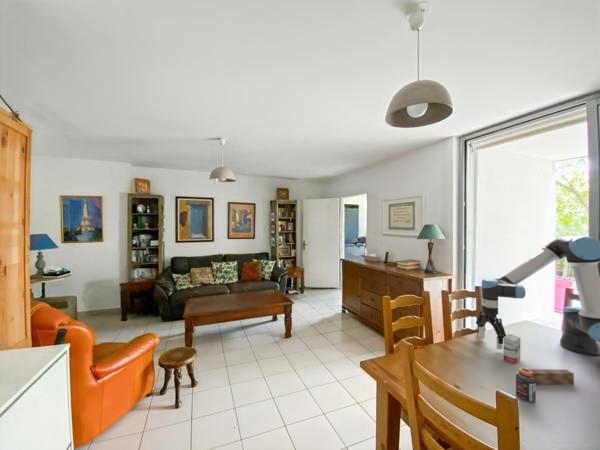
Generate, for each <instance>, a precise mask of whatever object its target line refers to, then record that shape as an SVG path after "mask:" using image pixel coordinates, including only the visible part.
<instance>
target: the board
mask: <svg viewBox="0 0 600 450" xmlns="http://www.w3.org/2000/svg"><path fill="white" fill-rule="evenodd" d="M527 369H528V368H527ZM528 370H530V371H531V372H532V376H533V377H534V378H535V380H536V386H575V373H574V372H572V371H570V370H568V369H554V368H553V369H543V368H542V369H537V368H536V369H533V368H532V369H531V368H529V369H528Z"/></svg>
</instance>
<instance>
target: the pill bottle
mask: <svg viewBox="0 0 600 450" xmlns="http://www.w3.org/2000/svg"><path fill="white" fill-rule="evenodd" d="M536 386H537V385H536V380H535V378H534V377H533V376H532V372H531V371H530V370H528V368H526V367H519V368H518V372H516V373H515V396H516V397H517V398H518V399H519V400H522V401H523V402H526V403H529V404H534V403H536V401H537V399H536V397H537V395H536V393H537V391H536V390H537V389H536Z"/></svg>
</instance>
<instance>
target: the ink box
mask: <svg viewBox="0 0 600 450" xmlns="http://www.w3.org/2000/svg"><path fill="white" fill-rule="evenodd" d="M502 351H503V353H502V355H503V359H502V360H503V361H506V362H508V363H510V364H514V365H516V364H517V363H518V362H519V361H521V337H520V336H517V335H515V334H511V333H508V334H506V336H505V337H504V338H503V349H502Z"/></svg>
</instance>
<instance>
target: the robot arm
mask: <svg viewBox="0 0 600 450" xmlns="http://www.w3.org/2000/svg"><path fill="white" fill-rule="evenodd" d="M564 258H566V262H567V264H570V265H571V266H572V271H573V275H574V279H575V284H576V288H577V294H578V298H579V303H580V306H565V307H564V309H563V326H564V327H563V328H564V329H563V333H562V335H561V338H560V340H559V344H560V346H561V347H563V348H564V349H567V350H569V351H572V352H576V353H579V354H584V355H589V356H600V347H599V344H598V343H600V274H599V269H598V264H599V263H600V240H599V239H597V238H595V237H592V236H587V235H562V236H560V237H557V238H555V239H553V240H552V241H550V242H548V244H546V245H544V246H543V247H541V250H540V251H539V252H537V253H536V254H535V255H532V257H530V258H529V259H527V260H526V261H524V262H523V263H521V264H519V265H518V266H517V267H515V268H514V269H512V270H511V271H509V272H507V273H506V274H504V275H503V276H501V277H500V278H494V279H492V278H483V279H482V280H481V310H479V313H478V314H479V315H478V317H477V319H476V321H475V324H476V325H477V327H478V338H479V339H485V325H486V324H487V323H489V324H490V325H491V326H492V327H493V330H494V331H495V332H494V333H495V334H496V349H497V350H503V349H504V337H505V336H506V335H507V334H506V331H505V328H504V325H503V321H502V318H499V317H497V316H498V315H499V298H509V299H510V298H511V299H524V298H525V297H526V289H525V287H524V286H523V285H522V284H520V283H521V282H524V281H525V280H526V279H528V278H530V277H531V276H533V275H535V274H536V273H537V272H539V271H540V270H542V269H544V268H545V267H547V266H548V265H550V264H552V263H553V262H555V261H560V260H562V259H564Z"/></svg>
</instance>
